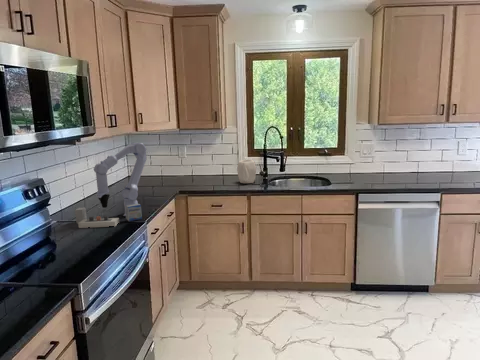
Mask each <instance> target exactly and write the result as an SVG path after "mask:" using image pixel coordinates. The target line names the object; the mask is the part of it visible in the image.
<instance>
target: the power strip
mask: <svg viewBox="0 0 480 360" xmlns="http://www.w3.org/2000/svg"><path fill="white" fill-rule="evenodd" d="M118 223H119V224H120V218H119V217H110V218H109V217H108V220H104V218H101V220H99V221H97V219H96V218H94V220H93V221H89V218H87V219H83V220H82V221H80V222H79V223H78V224H77V225H78V228H79V229H87V228H88V227H90V228H109V226H114V227H117V224H118ZM119 224H118V225H119ZM88 229H89V228H88Z"/></svg>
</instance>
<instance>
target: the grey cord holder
mask: <svg viewBox="0 0 480 360" xmlns="http://www.w3.org/2000/svg"><path fill="white" fill-rule="evenodd" d="M74 213H75V214H74V215H75V221H76V222H75V223H76V225H78V223H79V222H80V221H82V220H83V219H88V216H87V209H86V207H77V208H76V209H75V210H74Z"/></svg>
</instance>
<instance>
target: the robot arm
mask: <svg viewBox="0 0 480 360" xmlns="http://www.w3.org/2000/svg"><path fill="white" fill-rule="evenodd" d="M129 154H133V155H134V157H135V158H136V161H135V164H134V165H133V170H132V172H131V175H130V178H129V180H128V183H127V184H126V185H125V187H124V188H123V189H122V191H121V196H122V198H123V204H124V207H125V206H128V205H133V204H139V203H138V202H139V201H138V200H137V198H138V191H139V188H138V185H139V182H140V180H141V176H142V173H143V170H144V168H145V164H146V162H147V147H146V145H145V144H144V143H143V142H131V143H129V144H127V145H126V146H125V147H124V148H122V149H121V150H120V151H119V152H118V153H116V154H114V155H107V156H106V158H105V159H104V160H100V163H96V164H95V165H94V166H93V167H94V168H93V171H94V173H95V176H96V177H95V178H96V186H97V187H96V188H97V191H96V192H95V194H96V198H97V199H98V200H99V202H100V204H101V207H102V208H103V209H104V208H105V209H106V208H107V207H108V205H109V204H108V203H109V198H110V194H109V193H110V189H109V184H108V176H107V173H108V170H110V169H112V168H113V167H115V166H116V165H117V164H118V162H119V160H120V159H122V158H124V157H125V156H127V155H129ZM122 216H123V217H126V209H125V208H124V214H123V215H122Z"/></svg>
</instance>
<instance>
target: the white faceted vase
mask: <svg viewBox="0 0 480 360" xmlns="http://www.w3.org/2000/svg"><path fill="white" fill-rule="evenodd" d="M236 168H237V169H236V171H237V177H238V181H239V183H241V184H253V183H254V182H255V181H256V174H257V166H256V163H255V161H254V160H253V159H241V160H239V161H238V164H237V167H236Z"/></svg>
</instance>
